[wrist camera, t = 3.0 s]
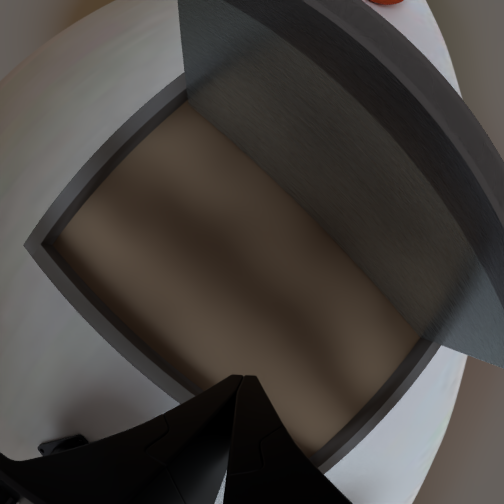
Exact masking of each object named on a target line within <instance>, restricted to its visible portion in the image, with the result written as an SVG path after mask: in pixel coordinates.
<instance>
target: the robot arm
mask: <svg viewBox="0 0 504 504" xmlns="http://www.w3.org/2000/svg"><path fill="white" fill-rule="evenodd" d="M79 439H80V440H81V441H80V440H79ZM38 450H39V452H40V453H41V454H42V455H43V456H42V457H38V458H34V459H29V460H25V461H14V460H11V459H9V458H7V457H6V456H5V455H3V454H2V453H1V452H0V504H214V503H215V500H216V498H217V495H218V492H219V490H220V487H221V484H222V481H223V479H224V476H225V473H226V470H227V475H226V482H225V491H224V499H223V504H353V503H352V502H351V501H350V500H348V499H347V498H346V497H345V496H344V495H343V494H342V493H341V492H340V491H339V490H338V489H337V488H336V487H335V486H334V485H333V484H332V483H331V482H330V481H329V479H328V478H327V477H326V476H325V475H324V474H323V473H322V472H321V471H320V470H319V469H318V468H317V467H316V466H315V465H314V464H313V463H312V462H311V460H310V459H309V458H308V457H307V456H306V455H305V454H304V453H303V452H302V450H301V449H300V448H299V447H298V445H297V444H296V443H295V441H294V440H293V438H292V437H291V435H290V434H289V432H288V431H287V429H286V427H285V426H284V424H283V422H282V421H281V419H280V417H279V415H278V414H277V412H276V410H275V408H274V407H273V405H272V403H271V401H270V399H269V398H268V396H267V394H266V392H265V390H264V389H263V387H262V385H261V383H260V381H259V379H258V377H257V376H255V375H245V376H243V375H236V374H232V375H230V376H228V377H226V378H225V379H223V380H222V381H220V382H218V383H217V384H215V385H213V386H212V387H210V388H208V389H207V390H205V391H203V392H201V393H200V394H198V395H196V396H195V397H193V398H191V399H189V400H188V401H186V402H184V403H182V404H180V405H179V406H177V407H175V408H173V409H171V410H169V411H168V412H166V413H164V414H161V415H159V416H157V417H155V418H154V419H152V420H149V421H147V422H145V423H143V424H141V425H139V426H136V427H134V428H131V429H129V430H126V431H124V432H121V433H118V434H115V435H113V436H110V437H107V438H104V439H101V440H98V441H95V442H92V443H89V442H88V441H87V440H86V439H85V438H84V437H83V436H82V435H79V434H78V435H74V436H71V437H67V438H63V439H60V440H56V441H52V442H48V443H44V444H40V445H39V446H38Z"/></svg>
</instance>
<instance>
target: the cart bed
mask: <svg viewBox="0 0 504 504" xmlns="http://www.w3.org/2000/svg"><path fill="white" fill-rule="evenodd" d="M24 247H25V248H26V250H27V251H28V252H29V254H30V255H31V256H32V258H33V259H34V260H35V262H36V263H37V264H38V265H39V267H40V268H41V269H42V271H43V272H44V273H45V274H46V276H47V277H48V278H49V279H50V280H51V282H52V283H53V284H54V285H55V286H56V288H57V289H58V290H59V291H60V292H61V294H62V295H63V296H64V297H65V298H66V299H67V300H68V302H69V303H70V304H71V305H72V306H73V307H74V308H75V309H76V310H77V311H78V313H79V314H80V315H81V316H82V317H83V318H84V319H85V320H86V321H87V322H88V323H89V324H90V325H91V326H92V327H93V328H94V329H95V330H96V331H97V332H98V333H99V334H100V335H101V336H102V337H103V338H104V339H105V340H106V341H107V342H108V343H109V344H110V345H111V346H112V347H113V348H114V349H115V350H116V351H117V352H119V353H120V354H121V355H122V356H123V357H124V358H125V359H126V360H127V361H128V362H130V363H131V364H132V365H133V366H134V367H135V368H136V369H138V370H139V371H140V372H141V373H142V374H143V375H145V376H146V377H147V378H148V379H149V380H151V381H152V382H153V383H154V384H156V385H157V386H158V387H159V388H160V389H162V390H163V391H164V392H166V393H167V394H168V395H169V396H171V397H172V398H173V399H175V400H176V401H177V402H179V403H180V404H182V403H184V402H186V401H188V400H189V399H191V398H193V397H195V396H196V395H198V394H200V393H201V392H203V391H205V390H207V389H208V388H210V387H212V386H213V385H215V384H217V383H218V382H220V381H222V380H223V379H225V378H226V377H228V376H230V375H232V374H236V375H243V376H245V375H255V376H257V377H258V379H259V381H260V383H261V385H262V387H263V389H264V390H265V392H266V394H267V396H268V398H269V399H270V401H271V403H272V405H273V407H274V408H275V410H276V412H277V414H278V415H279V417H280V419H281V421H282V422H283V424H284V426H285V427H286V429H287V431H288V432H289V434H290V435H291V437H292V438H293V440H294V441H295V443H296V444H297V445H298V447H299V448H300V449H301V450H302V452H303V453H304V454H305V455H306V456H307V457H308V458H309V459H310V460H311V462H312V463H313V464H314V465H315V466H316V467H317V468H318V469H319V470H320V471H321V472H322V473H323V474H325V473H326V472H327V471H328V470H330V469H331V468H332V467H333V466H334V465H335V464H337V463H338V462H339V461H340V460H341V459H342V458H343V457H344V456H346V455H347V454H348V453H349V452H350V451H351V450H352V449H353V448H354V447H355V446H356V445H357V444H358V443H359V442H361V441H362V440H363V439H364V438H365V437H366V436H367V435H368V434H369V433H370V432H371V431H372V430H373V429H374V427H375V426H376V425H377V424H378V423H379V422H380V421H381V420H382V419H383V418H384V417H385V416H386V415H387V414H388V412H389V411H390V410H391V409H392V408H393V407H394V406H395V405H396V403H397V402H398V401H399V400H400V399H401V398H402V396H403V395H404V394H405V393H406V392H407V390H408V389H409V388H410V387H411V385H412V384H413V383H414V382H415V380H416V379H417V378H418V377H419V375H420V374H421V373H422V371H423V370H424V369H425V367H426V366H427V365H428V363H429V362H430V361H431V359H432V358H433V356H434V355H435V354H436V352H437V351H438V349H439V348H440V346H441V345H440V344H437V343H434V342H432V341H429V340H427V339H424V338H421V337H419V336H418V334H417V333H416V332H415V331H414V329H413V328H412V327H411V326H410V325H409V323H408V322H407V321H406V320H405V319H404V317H403V316H402V315H401V314H400V313H399V312H398V310H397V309H396V308H395V307H394V306H393V305H392V303H391V302H390V301H389V300H388V299H387V298H386V296H385V295H384V294H383V293H382V292H381V291H380V290H379V288H378V287H377V286H376V285H375V284H374V283H373V282H372V281H371V279H370V278H369V277H368V276H367V275H366V274H365V273H364V272H363V271H362V269H361V268H360V267H359V266H358V265H357V264H356V263H355V262H354V261H353V260H352V259H351V258H350V256H349V255H348V254H347V253H346V252H345V251H344V250H343V249H342V248H341V247H340V246H339V245H338V244H337V243H336V242H335V241H334V239H333V238H332V237H331V236H330V235H329V234H328V233H327V232H326V231H325V230H324V229H323V228H322V227H321V226H320V225H319V224H318V223H317V222H316V221H315V220H314V219H313V218H312V217H311V216H310V215H309V214H308V213H307V212H306V211H305V210H304V209H303V208H302V207H301V206H300V205H299V204H298V203H297V202H296V201H295V200H294V199H293V198H292V197H291V196H290V195H289V194H288V193H287V192H286V191H285V190H284V189H283V188H282V187H281V186H280V185H279V184H278V183H276V182H275V181H274V180H273V179H272V178H271V177H270V176H269V175H268V174H267V173H266V172H265V171H264V170H263V169H262V168H261V167H260V166H258V165H257V164H256V163H255V162H254V161H253V160H252V159H251V158H250V157H249V156H248V155H246V154H245V153H244V152H243V151H242V150H241V149H240V148H239V147H238V146H237V145H235V144H234V143H233V142H232V141H231V140H230V139H229V138H228V137H226V136H225V135H224V134H223V133H222V132H221V131H220V130H218V129H217V128H216V127H215V126H214V125H213V124H211V123H210V122H209V121H208V120H207V119H206V118H204V117H203V116H202V115H201V114H200V113H199V112H197V111H196V110H195V109H194V108H193V107H191V106H190V105H189V104H188V96H187V88H186V80H185V73H183V74H181V75H180V76H179V77H177V78H176V79H175V80H174V81H172V82H171V83H170V84H169V85H167V86H166V87H165V88H164V89H162V90H161V91H160V92H159V93H158V94H156V95H155V96H154V97H153V98H152V99H150V100H149V101H148V102H147V103H146V104H145V105H144V106H142V107H141V108H140V109H139V110H138V111H137V112H136V113H135V114H134V115H133V116H131V117H130V118H129V119H128V120H127V121H126V122H125V123H124V124H123V125H122V126H121V127H120V128H119V129H118V130H117V131H116V132H115V133H114V134H113V135H112V136H111V137H110V138H109V139H108V140H107V141H106V142H105V143H104V144H103V145H102V146H101V147H100V148H99V149H98V150H97V151H96V152H95V153H94V155H93V156H92V157H91V158H90V159H89V160H88V161H87V162H86V163H85V164H84V166H83V167H82V168H81V169H80V170H79V171H78V173H77V174H76V175H75V176H74V177H73V178H72V180H71V181H70V182H69V183H68V184H67V186H66V187H65V188H64V189H63V191H62V192H61V193H60V194H59V196H58V197H57V198H56V200H55V201H54V202H53V203H52V205H51V206H50V207H49V209H48V210H47V211H46V213H45V214H44V216H43V217H42V218H41V220H40V221H39V223H38V224H37V225H36V227H35V228H34V230H33V231H32V233H31V234H30V236H29V237H28V239H27V240H26V242H25V243H24Z"/></svg>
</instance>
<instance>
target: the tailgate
mask: <svg viewBox="0 0 504 504" xmlns="http://www.w3.org/2000/svg"><path fill="white" fill-rule="evenodd" d="M178 10H179V22H180V33H181V43H182V53H183V62H184V71H185V80H186V88H187V96H188V104H189V105H190V106H191V107H193V108H194V109H195V110H196V111H197V112H199V113H200V114H201V115H202V116H203V117H204V118H206V119H207V120H208V121H209V122H210V123H211V124H213V125H214V126H215V127H216V128H217V129H218V130H220V131H221V132H222V133H223V134H224V135H225V136H226V137H228V138H229V139H230V140H231V141H232V142H233V143H234V144H235V145H237V146H238V147H239V148H240V149H241V150H242V151H243V152H244V153H245V154H246V155H248V156H249V157H250V158H251V159H252V160H253V161H254V162H255V163H256V164H257V165H258V166H260V167H261V168H262V169H263V170H264V171H265V172H266V173H267V174H268V175H269V176H270V177H271V178H272V179H273V180H274V181H275V182H276V183H278V184H279V185H280V186H281V187H282V188H283V189H284V190H285V191H286V192H287V193H288V194H289V195H290V196H291V197H292V198H293V199H294V200H295V201H296V202H297V203H298V204H299V205H300V206H301V207H302V208H303V209H304V210H305V211H306V212H307V213H308V214H309V215H310V216H311V217H312V218H313V219H314V220H315V221H316V222H317V223H318V224H319V225H320V226H321V227H322V228H323V229H324V230H325V231H326V232H327V233H328V234H329V235H330V236H331V237H332V238H333V239H334V241H335V242H336V243H337V244H338V245H339V246H340V247H341V248H342V249H343V250H344V251H345V252H346V253H347V254H348V255H349V256H350V258H351V259H352V260H353V261H354V262H355V263H356V264H357V265H358V266H359V267H360V268H361V269H362V271H363V272H364V273H365V274H366V275H367V276H368V277H369V278H370V279H371V281H372V282H373V283H374V284H375V285H376V286H377V287H378V288H379V290H380V291H381V292H382V293H383V294H384V295H385V296H386V298H387V299H388V300H389V301H390V302H391V303H392V305H393V306H394V307H395V308H396V309H397V310H398V312H399V313H400V314H401V315H402V316H403V317H404V319H405V320H406V321H407V322H408V323H409V325H410V326H411V327H412V328H413V329H414V331H415V332H416V333H417V334H418V336H419V337H421V338H424V339H427V340H429V341H432V342H434V343H437V344H440V345H442V346H445V347H448V348H450V349H453V350H456V351H458V352H461V353H464V354H466V355H469V356H472V357H475V358H477V359H480V360H483V361H485V362H488V363H490V364H493V365H496V366H499V367H501V368H504V162H503V160H502V158H501V157H500V155H499V153H498V151H497V150H496V148H495V146H494V145H493V143H492V142H491V140H490V138H489V137H488V135H487V134H486V132H485V131H484V129H483V128H482V126H481V125H480V123H479V122H478V120H477V119H476V118H475V116H474V115H473V113H472V112H471V110H470V109H469V108H468V106H467V105H466V104H465V102H464V101H463V100H462V98H461V97H460V96H459V95H458V93H457V92H456V91H455V90H454V88H453V87H452V86H451V85H450V84H449V82H448V81H447V80H446V79H445V78H444V77H443V75H442V74H441V73H440V72H439V71H438V70H437V69H436V68H435V66H434V65H433V64H432V63H431V62H430V61H429V60H428V59H427V58H426V57H425V56H424V55H423V54H422V53H421V52H420V51H419V50H418V49H417V48H416V47H415V46H414V45H413V44H412V43H411V42H410V41H409V40H408V39H407V38H406V37H405V36H404V35H403V34H402V33H400V32H399V31H398V30H397V29H396V28H395V27H394V26H393V25H391V24H390V23H389V22H388V21H387V20H386V19H384V18H383V17H382V16H381V15H380V14H378V13H377V12H376V11H375V10H373V9H372V8H371V7H369V6H368V5H367V4H365V3H364V2H363V1H361V0H178Z"/></svg>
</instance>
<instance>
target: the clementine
mask: <svg viewBox="0 0 504 504" xmlns="http://www.w3.org/2000/svg"><path fill="white" fill-rule="evenodd" d="M370 1H373V2H376V3H380V4H385V5H390V4H397V3H399V2H402V1H403V0H370Z"/></svg>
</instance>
